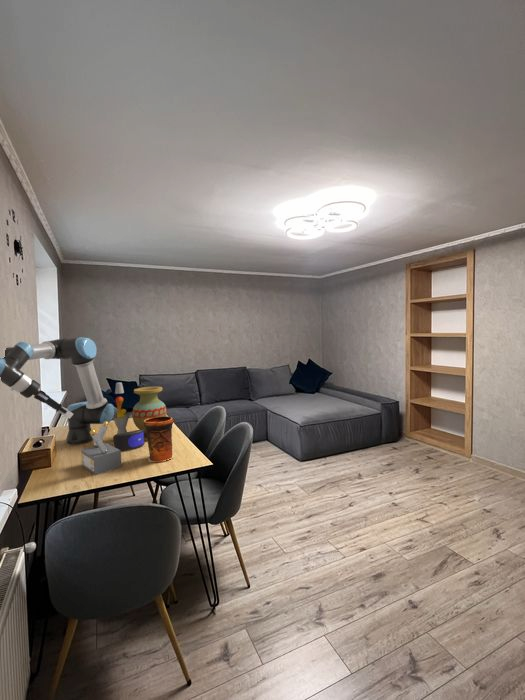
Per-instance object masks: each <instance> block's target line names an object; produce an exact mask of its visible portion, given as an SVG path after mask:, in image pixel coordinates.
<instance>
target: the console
mask: <svg viewBox="0 0 525 700" xmlns="http://www.w3.org/2000/svg"><path fill="white" fill-rule="evenodd" d="M104 445H105V447H106V448H107V453H103V452H101V450H100V449H99V447H96V446H94V445H93V446H90V447H86V448H82V449H80V459H81V460H80V462H81V466H82V467H83V468H85V469H86V470H87V471H89V472H90V473H92V474H93V475H95V476H96V475H99V474H103V473H106V472H110V471H113V470H115V469H119V468H122V466H123V465H122V452H121V450H119V449H117V448H115V447H114V445H111V444H108V443H104Z"/></svg>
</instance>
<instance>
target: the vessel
mask: <svg viewBox="0 0 525 700" xmlns="http://www.w3.org/2000/svg"><path fill="white" fill-rule="evenodd" d="M174 422H175V421H174V419H173V417H171V416H161V417H154V418H149V419H146V420H144V426H145V428H146V431H147V439H148V441H147V446H148V453H149V456H148V457H147V459H148V461H149V462H150V463H152V462H153V463H158V462H167V461H166V460H169V459H170V458H172V455H173V437H172V436H173V433H172V429H173V424H174ZM169 461H170V460H169Z"/></svg>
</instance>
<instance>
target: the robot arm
mask: <svg viewBox="0 0 525 700" xmlns="http://www.w3.org/2000/svg"><path fill="white" fill-rule="evenodd" d="M13 346H14V347H10V346H6V347H7V348H6V350H5V357H4V358H0V377H1V381H2V382H1V381H0V382H1V383H2V384H4V385H6V386H7V387H9V388H11V389H10V390H11V391H13V392H14V391H15V392H17V393H19V394H20V395H21V396H22V397H24V398H26V399H28V398H31V397H32V396H33V398H34V399H35V400H37V401H39V402H41V403H43V404H46V405H47V406H49V407H50V408H51V409H53V410H55V412H56V413H60V414H61V415H63V416H64V417H66V418H67V422H68V432H67V435H66V439H65V442H66V443H65V445H68V444H69V445H72V446H75V445H83V444H87V443H91V442H92V441H94V440H93V438H92V436H91V434H90V431H91V430H93V429H92V427H91V425H103V423H104V422H105V421H107V422H108V424H109V423H110V422H111V421H112V420H113V417H114V416H115V406H114V405H113V404H112V403H109V402H108V400H107V398H106V397H104V395H103V392H102V387H101V386H100V382H99V379H98V375H97V372H96V370H95V369H96V368H95V366H94V360H95V357H96V356H97V351H98V349H97V345H96V343H95V342H94V341H93V340H92V339H91V338H90V337H82V336H80V337H69V338H66V337H64V338H57V339H53V340H48V341H47V340H45V341H43V342H41V343H34V344H33V343H32V344H29V343H28V342H25V341H19V342H17V343H16V344H15V345H13ZM38 359H44V360H52V359H53V360H70V362H71V365H72V366H74V367H76V371H77V374H78V378H79V379H80V383H81V386H82V390H83V391H84V395H85V398H86V401H81V402H77V403H72V404H70V405H68V406H67V408H66V407H64V406H63V405H62V403H58V402H57V401H56V400H55V399H53V398H52V397H50V395H48V394H47V393H46V392H45V391H44V390H41V389H40V387H41V384H40V383H39V382H38V381H36V380H35V379H33V377H30V375H27V374H26V373H24V372H23V371H21V369H22V368H23V366H24V365H26V363H27V362H28V361H33V360H38ZM39 389H40V390H39ZM69 445H68V446H69Z"/></svg>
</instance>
